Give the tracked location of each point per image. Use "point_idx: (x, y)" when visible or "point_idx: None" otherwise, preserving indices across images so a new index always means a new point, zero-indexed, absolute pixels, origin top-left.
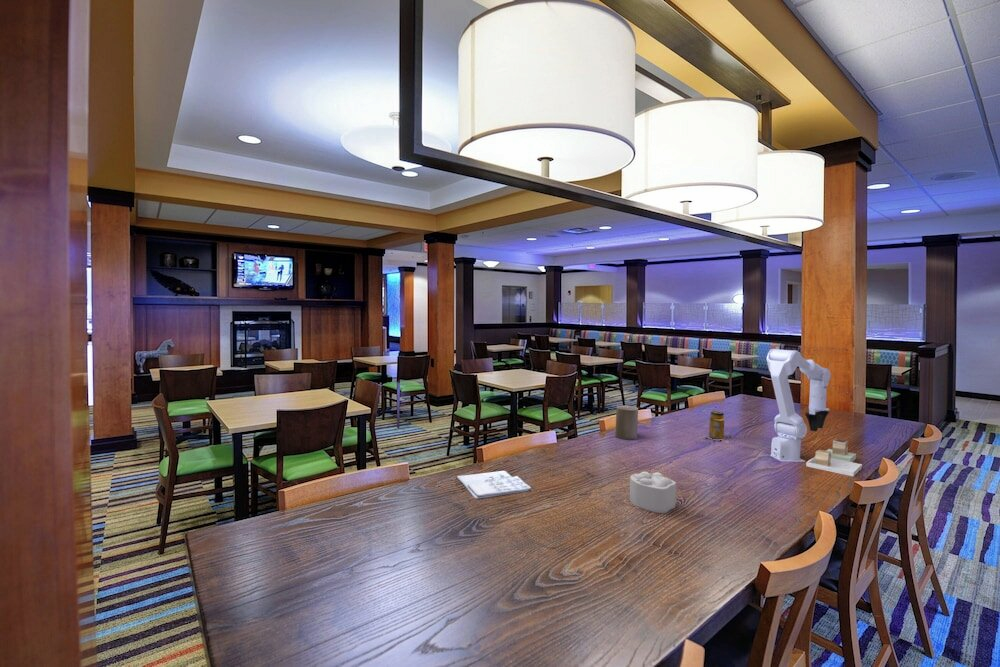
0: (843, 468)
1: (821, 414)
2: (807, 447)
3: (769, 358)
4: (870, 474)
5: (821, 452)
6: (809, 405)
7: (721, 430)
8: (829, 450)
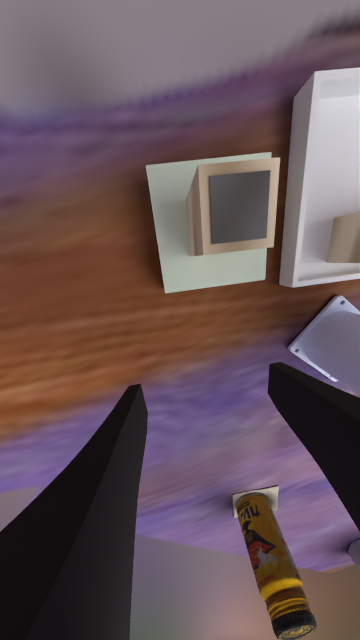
0: (353, 159)
1: (99, 579)
2: (129, 370)
3: None
4: (348, 32)
5: None
6: None
7: (272, 527)
8: (194, 279)
